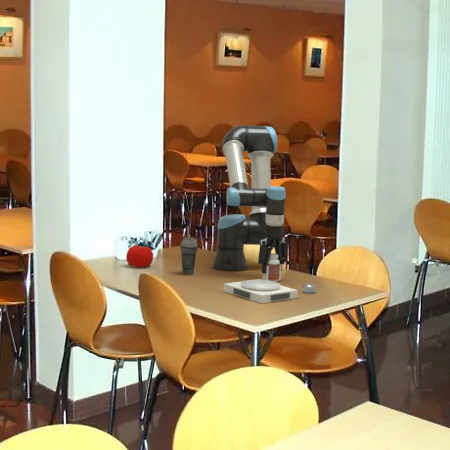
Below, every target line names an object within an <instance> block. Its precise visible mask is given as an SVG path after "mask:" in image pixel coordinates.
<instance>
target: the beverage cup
mask: <svg viewBox="0 0 450 450" xmlns="http://www.w3.org/2000/svg"><path fill="white" fill-rule="evenodd" d="M186 227H187V228H186V229H187V236H186V237H184V238H183V239H182V241H181V243H180V252H181V268H182V269H181V271H182V274H183V275H185V276H192V275H194V273H195V272H194V271H195V267H196V265H195V264H196V257H197V252H198V243H197V240H196V239H195V238H194V237H191V236H190V233H189V231H190V228H189V226H186Z"/></svg>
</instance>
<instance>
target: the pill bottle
mask: <svg viewBox="0 0 450 450" xmlns="http://www.w3.org/2000/svg"><path fill="white" fill-rule="evenodd" d="M277 258H278V254H276V253H275V252H274V253H272V252H271V254H270V258H269V261H268V264H267V266H269V274H268V280H269V281H274V282H277V283H278V282H279V281H280V280H279V266H280V261H279V260H278V259H277Z"/></svg>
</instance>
